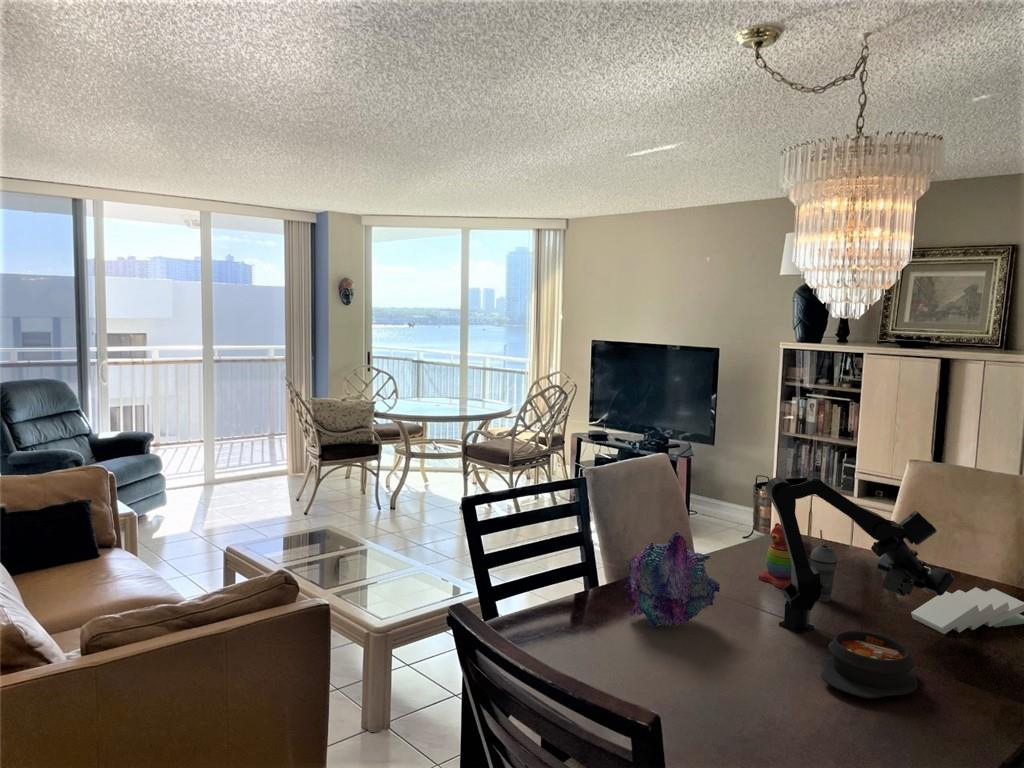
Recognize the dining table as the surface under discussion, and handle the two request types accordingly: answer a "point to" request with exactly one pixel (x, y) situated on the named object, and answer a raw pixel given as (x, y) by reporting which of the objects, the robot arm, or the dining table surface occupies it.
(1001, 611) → the domino
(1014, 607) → the domino
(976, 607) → the domino
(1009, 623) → the domino
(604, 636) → the dining table surface
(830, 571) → the beverage cup
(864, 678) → the casserole
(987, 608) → the domino
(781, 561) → the stacking bear
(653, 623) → the coral
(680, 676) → the dining table surface
